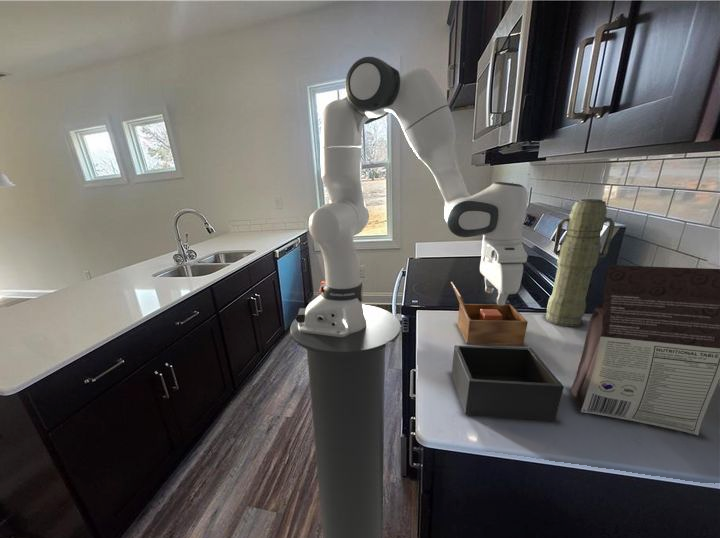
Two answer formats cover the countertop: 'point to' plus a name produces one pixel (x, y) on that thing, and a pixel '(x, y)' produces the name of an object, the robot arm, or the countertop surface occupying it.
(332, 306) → the robot arm
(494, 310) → the block
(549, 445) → the countertop surface
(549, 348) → the countertop surface
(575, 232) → the thermos
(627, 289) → the protein powder
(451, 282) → the flap
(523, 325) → the wooden box
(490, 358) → the basket
